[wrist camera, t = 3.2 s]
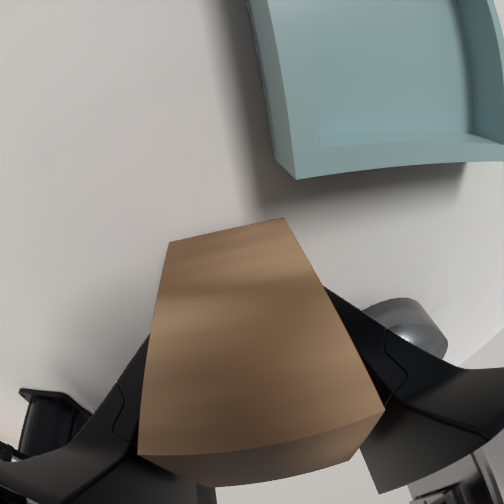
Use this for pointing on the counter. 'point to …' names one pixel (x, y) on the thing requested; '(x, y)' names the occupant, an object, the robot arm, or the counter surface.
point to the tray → (380, 82)
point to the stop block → (249, 364)
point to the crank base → (410, 324)
